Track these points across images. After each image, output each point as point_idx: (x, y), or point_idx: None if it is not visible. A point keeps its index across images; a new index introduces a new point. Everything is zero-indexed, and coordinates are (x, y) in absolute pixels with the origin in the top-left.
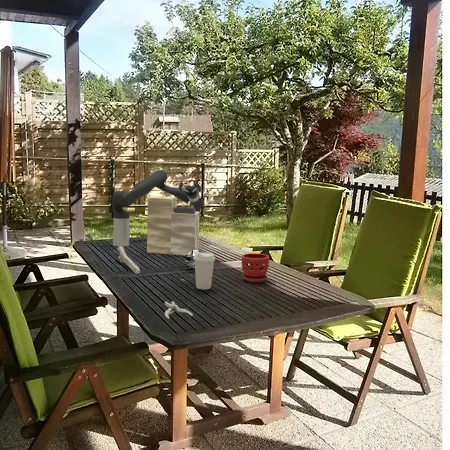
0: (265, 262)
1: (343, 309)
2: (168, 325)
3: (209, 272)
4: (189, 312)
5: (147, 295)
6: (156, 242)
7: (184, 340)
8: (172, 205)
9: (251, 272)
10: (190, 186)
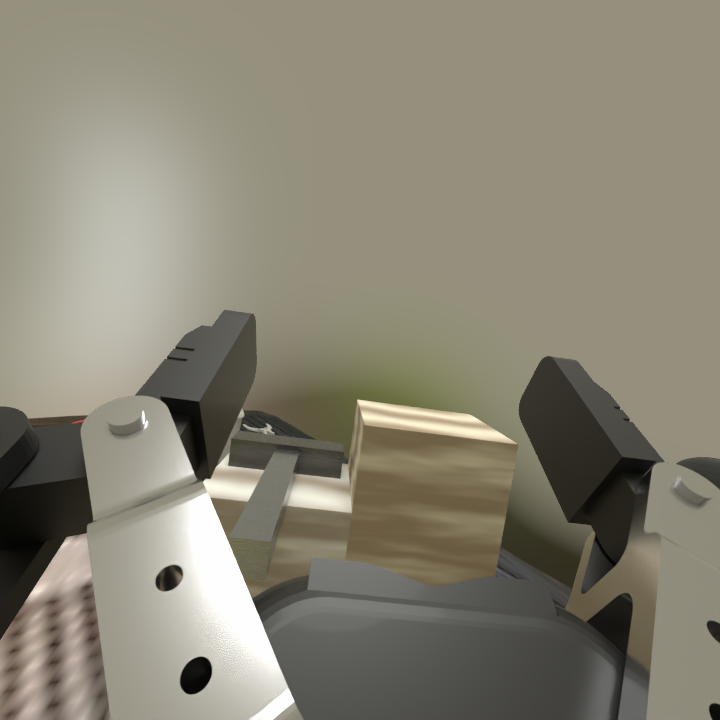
0: None
1: (37, 420)
2: (265, 420)
3: None
4: (246, 426)
5: None
6: None
7: (251, 411)
8: (353, 436)
9: None
10: (406, 587)
